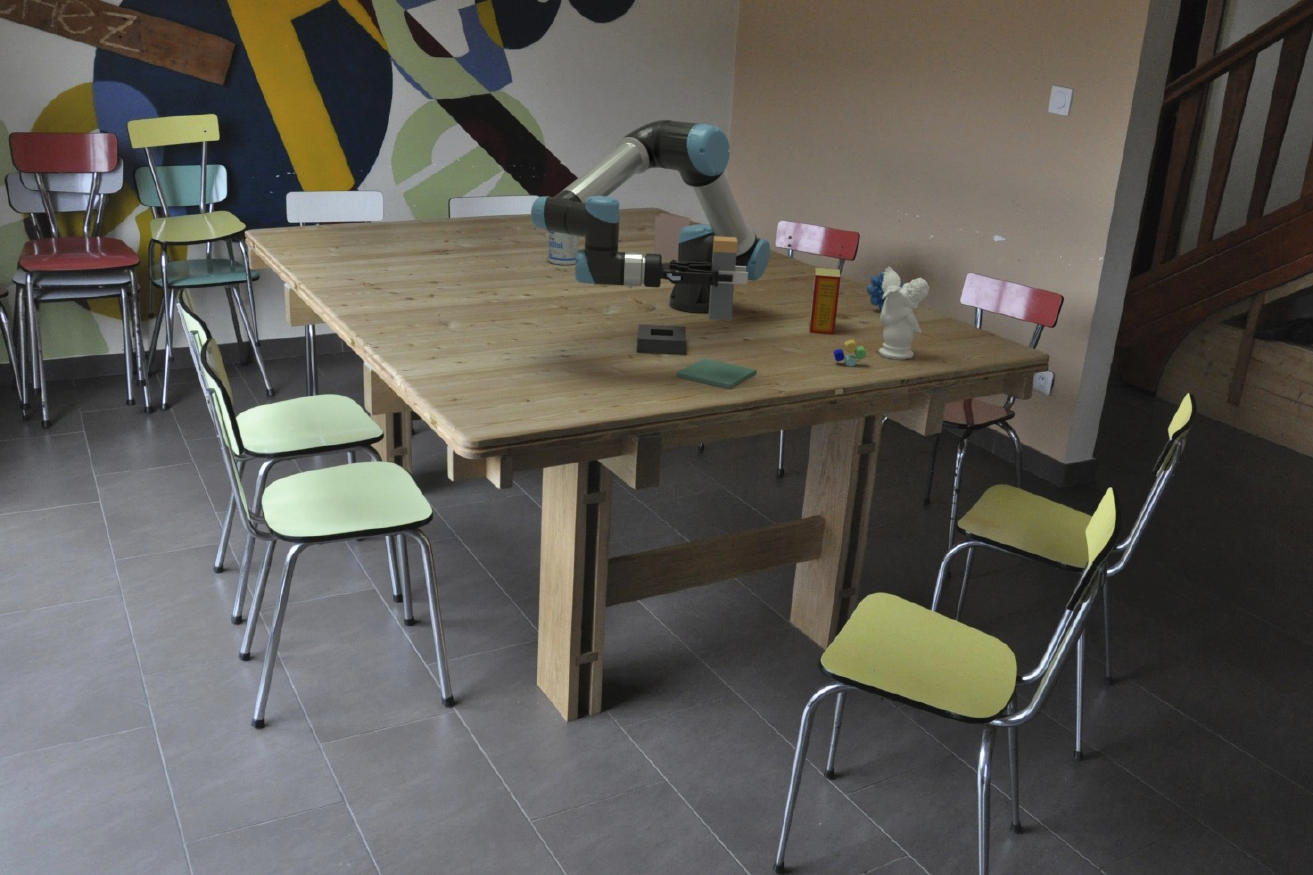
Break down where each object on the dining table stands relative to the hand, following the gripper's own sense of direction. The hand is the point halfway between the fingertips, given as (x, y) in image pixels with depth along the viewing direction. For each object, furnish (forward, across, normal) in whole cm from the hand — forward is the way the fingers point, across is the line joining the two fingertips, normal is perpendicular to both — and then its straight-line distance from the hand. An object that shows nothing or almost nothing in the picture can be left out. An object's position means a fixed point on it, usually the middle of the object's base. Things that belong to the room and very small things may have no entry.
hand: (746, 275), depth 251 cm
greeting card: (-16, -119, -24) cm, 122 cm away
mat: (-5, 0, -24) cm, 25 cm away
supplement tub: (-50, -110, -24) cm, 123 cm away
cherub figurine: (+40, -23, -24) cm, 52 cm away
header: (-18, -22, -24) cm, 37 cm away
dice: (+28, -14, -24) cm, 39 cm away
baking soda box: (+25, -45, -24) cm, 57 cm away
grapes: (+46, -65, -24) cm, 84 cm away
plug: (-5, 0, -10) cm, 11 cm away
